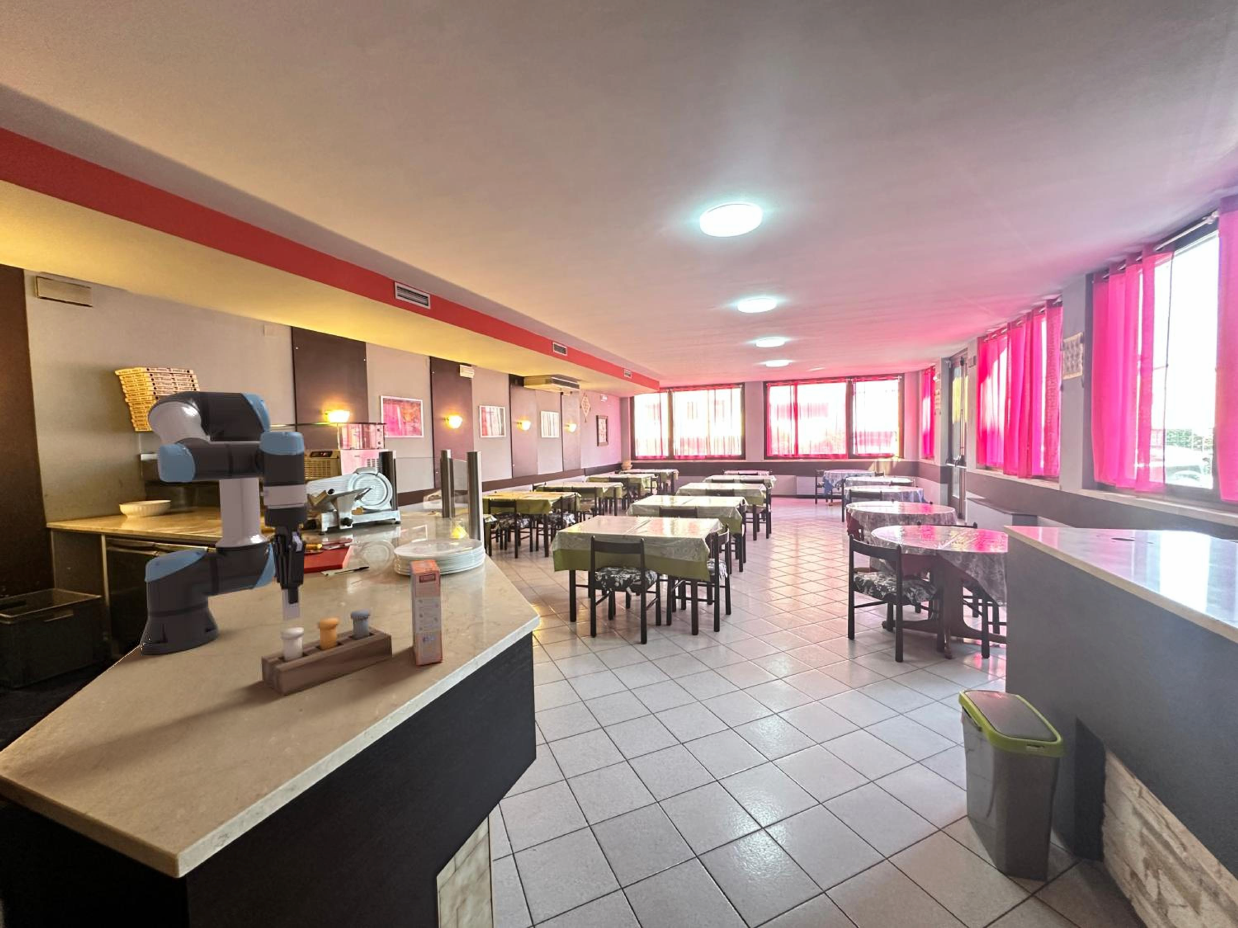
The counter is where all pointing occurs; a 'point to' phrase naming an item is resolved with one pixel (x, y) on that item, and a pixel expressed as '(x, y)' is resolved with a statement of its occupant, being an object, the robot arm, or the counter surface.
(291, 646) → the ivory plug
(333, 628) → the orange plug
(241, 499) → the robot arm
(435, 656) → the cracker box
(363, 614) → the slate plug
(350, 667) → the socket board
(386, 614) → the counter surface
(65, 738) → the counter surface
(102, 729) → the counter surface
